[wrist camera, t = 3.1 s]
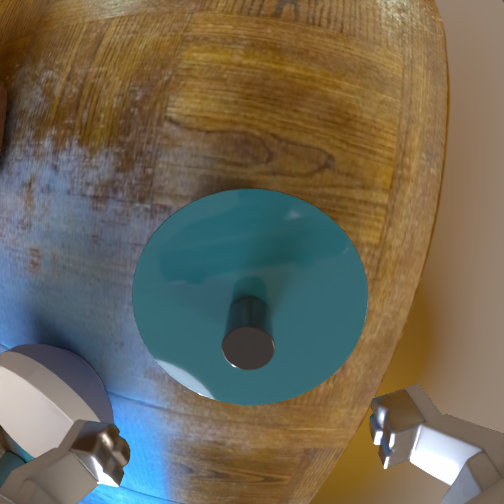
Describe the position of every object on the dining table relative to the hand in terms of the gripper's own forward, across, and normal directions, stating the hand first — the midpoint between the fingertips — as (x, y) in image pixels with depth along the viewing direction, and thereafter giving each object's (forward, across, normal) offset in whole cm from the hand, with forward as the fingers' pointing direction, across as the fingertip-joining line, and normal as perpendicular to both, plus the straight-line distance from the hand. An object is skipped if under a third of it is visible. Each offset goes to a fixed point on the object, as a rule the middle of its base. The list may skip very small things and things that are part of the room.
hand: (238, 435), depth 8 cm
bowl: (+17, +23, +10) cm, 30 cm away
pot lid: (+9, 0, 0) cm, 9 cm away
